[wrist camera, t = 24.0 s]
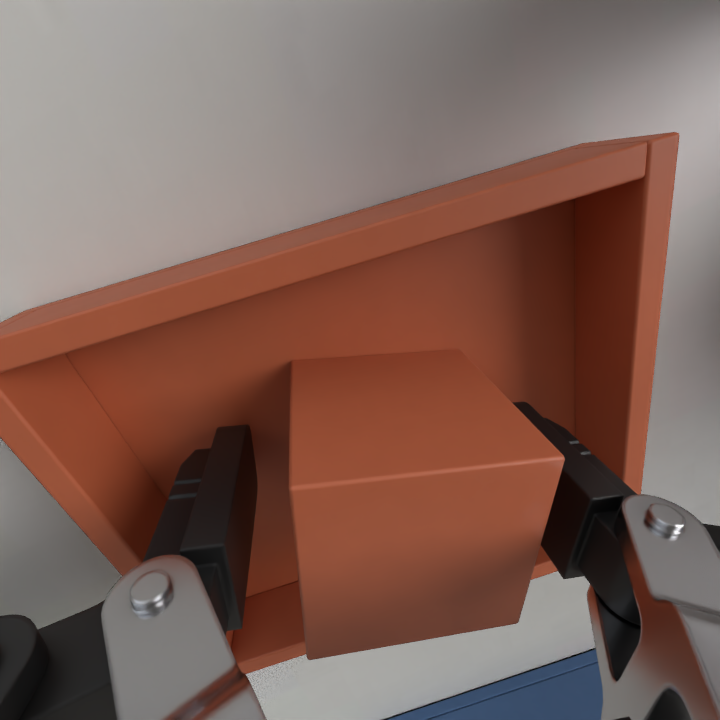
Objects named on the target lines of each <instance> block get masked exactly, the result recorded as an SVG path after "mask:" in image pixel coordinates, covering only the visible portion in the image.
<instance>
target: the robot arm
mask: <svg viewBox="0 0 720 720" xmlns="http://www.w3.org/2000/svg"><path fill="white" fill-rule="evenodd" d="M512 403H513V404H514V405H515V406H516V407H517V408H518V409H519V410H520V411H521V412H522V413H523V414H524V415H525V416H526V417H527V418H528V419H529V421H530V422H531V423H532V424H533V425H534V426H535V427H536V428H537V429H538V430H539V431H540V432H541V433H542V434H543V435H544V436H545V437H546V438H547V439H548V440H549V441H550V442H551V443H552V444H553V445H554V446H555V447H556V448H557V449H558V450H559V451H560V452H561V453H562V454H563V455H564V458H565V461H564V464H563V468H562V471H561V475H560V478H559V482H558V485H557V489H556V492H555V496H554V499H553V503H552V506H551V510H550V513H549V517H548V520H547V524H546V527H545V531H544V534H543V538H542V541H541V546H542V548H543V549H544V551H545V552H546V554H547V555H548V557H549V558H550V560H551V561H552V563H553V564H554V565H555V567H556V568H557V570H558V571H559V573H560V574H561V576H562V577H563V579H568V578H574V577H581V576H585V577H586V579H587V580H588V581H589V583H590V586H589V589H588V592H587V601H588V607H589V613H590V618H591V624H592V630H593V636H594V641H595V647H596V653H597V658H598V664H599V670H600V676H601V681H602V688H603V707H602V713H601V720H720V526H715V525H708V524H702V523H701V522H700V521H699V520H698V519H697V518H696V517H695V516H694V515H692V514H691V513H690V512H688V511H687V510H685V509H684V508H682V507H680V506H678V505H677V504H675V503H672V502H670V501H668V500H665V499H662V498H660V497H656V496H651V495H644V494H636V493H635V492H634V491H633V490H632V489H631V488H630V487H629V486H628V485H627V484H626V483H624V482H623V481H622V480H621V479H620V478H619V477H618V476H617V475H616V474H615V473H614V472H612V471H611V470H610V469H609V468H608V467H607V466H606V465H605V464H604V463H603V462H602V461H600V460H599V459H598V458H597V457H596V456H595V455H592V454H591V451H590V450H588V449H587V448H586V447H585V446H584V445H583V444H580V443H579V440H578V439H576V438H575V437H574V436H573V435H572V434H571V433H570V432H569V431H568V430H567V429H566V428H564V427H562V426H560V425H559V424H557V423H555V422H553V421H551V420H549V419H548V418H543V417H542V416H541V415H540V414H539V413H538V412H537V411H536V410H535V409H534V408H533V407H532V406H531V405H530V404H528V403H527V402H524V401H523V402H512ZM257 491H258V484H257V471H256V464H255V457H254V450H253V443H252V436H251V430H250V426H249V425H248V424H247V425H236V426H224V427H218V428H217V430H216V433H215V436H214V439H213V443H212V446H211V448H207V449H196V450H195V451H194V452H193V453H192V454H191V455H190V456H189V457H188V458H187V459H186V460H185V461H184V462H183V463H182V464H181V466H180V468H179V471H178V473H177V476H176V478H175V481H174V485H173V486H172V489H171V491H170V494H169V496H168V500H167V501H166V504H165V506H164V509H163V511H162V514H161V516H160V519H159V522H158V524H157V527H156V529H155V532H154V534H153V537H152V539H151V542H150V544H149V547H148V549H147V552H146V555H145V557H144V559H143V562H142V563H141V564H139V565H137V566H135V567H134V568H132V569H131V570H130V571H128V572H127V573H126V574H125V575H124V576H122V577H121V578H120V579H119V580H118V582H117V583H116V584H115V585H114V586H113V588H112V589H111V590H110V592H109V593H108V595H107V597H106V599H105V600H104V601H103V602H101V603H99V604H98V605H95V606H93V607H91V608H89V609H87V610H84V611H82V612H80V613H77V614H75V615H72V616H70V617H67V618H65V619H63V620H60V621H58V622H55V623H53V624H51V625H48V626H46V627H43V628H41V629H37V628H36V626H35V624H34V623H33V622H32V621H31V620H30V619H29V618H27V617H25V616H22V615H4V616H0V720H266V717H265V715H264V713H263V710H262V708H261V706H260V704H259V701H258V699H257V697H256V694H255V692H254V690H253V688H252V686H251V684H250V682H249V680H248V678H247V676H246V675H245V673H244V672H243V673H242V672H241V670H240V668H239V666H238V664H237V662H236V660H235V657H234V655H233V653H232V650H231V648H230V646H229V643H228V641H227V639H226V633H227V631H231V630H237V629H242V626H243V618H244V609H245V600H246V591H247V582H248V574H249V565H250V556H251V547H252V538H253V530H254V521H255V512H256V503H257Z"/></svg>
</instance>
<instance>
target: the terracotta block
mask: <svg viewBox="0 0 720 720" xmlns="http://www.w3.org/2000/svg"><path fill="white" fill-rule="evenodd" d="M564 461H565V458H564V455H563V454H562V453H561V452H560V451H559V450H558V449H557V448H556V447H555V446H554V445H553V444H552V443H551V442H550V441H549V440H548V439H547V438H546V437H545V436H544V435H543V434H542V433H541V432H540V431H539V430H538V429H537V428H536V427H535V426H534V425H533V424H532V423H531V422H530V421H529V419H528V418H527V417H526V416H525V415H524V414H523V413H522V412H521V411H520V410H519V409H518V408H517V407H516V406H515V405H514V404H513V403H512V402H511V401H510V400H509V399H508V398H507V397H506V396H505V395H504V394H503V393H502V392H501V391H500V390H499V389H498V388H497V387H496V386H495V385H494V384H493V383H492V382H491V381H490V380H489V379H488V378H487V377H486V375H485V374H484V373H483V372H482V371H481V370H480V369H479V368H478V367H477V366H476V365H475V364H474V363H473V362H472V361H471V360H470V359H469V358H468V357H467V356H466V355H465V354H464V353H463V352H462V351H461V350H459V349H456V350H441V351H427V352H412V353H397V354H382V355H368V356H353V357H338V358H323V359H309V360H294V361H291V364H290V430H289V497H290V507H291V516H292V525H293V534H294V544H295V553H296V562H297V572H298V581H299V590H300V599H301V609H302V618H303V627H304V636H305V646H306V655H307V658H308V660H313V659H319V658H324V657H330V656H336V655H341V654H347V653H353V652H358V651H364V650H370V649H375V648H381V647H387V646H392V645H398V644H404V643H409V642H415V641H421V640H426V639H432V638H438V637H443V636H449V635H454V634H460V633H466V632H471V631H477V630H483V629H488V628H494V627H500V626H505V625H511V624H516V623H518V622H519V618H520V615H521V611H522V608H523V604H524V601H525V597H526V594H527V590H528V587H529V583H530V580H531V576H532V573H533V569H534V566H535V562H536V559H537V555H538V552H539V548H540V545H541V541H542V538H543V534H544V531H545V527H546V524H547V520H548V517H549V513H550V510H551V506H552V503H553V499H554V496H555V492H556V489H557V485H558V482H559V478H560V475H561V471H562V468H563V464H564Z"/></svg>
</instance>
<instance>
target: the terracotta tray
mask: <svg viewBox="0 0 720 720" xmlns="http://www.w3.org/2000/svg"><path fill="white" fill-rule="evenodd" d="M678 143H679V133H676V132H672V133H663V134H655V135H647V136H639V137H631V138H623V139H614V140H606V141H598V142H589V143H582V144H579V145H576V146H572V147H569V148H566V149H562V150H559V151H556V152H552V153H549V154H546V155H542V156H539V157H536V158H532V159H529V160H526V161H522V162H519V163H516V164H512V165H509V166H506V167H502V168H499V169H496V170H492V171H489V172H486V173H482V174H479V175H476V176H472V177H469V178H466V179H462V180H459V181H456V182H452V183H449V184H446V185H442V186H439V187H436V188H432V189H429V190H426V191H422V192H419V193H416V194H412V195H409V196H406V197H402V198H399V199H396V200H392V201H389V202H386V203H382V204H379V205H376V206H372V207H369V208H366V209H362V210H359V211H356V212H352V213H349V214H346V215H342V216H339V217H336V218H332V219H329V220H326V221H322V222H319V223H316V224H312V225H309V226H306V227H302V228H299V229H296V230H292V231H289V232H286V233H282V234H279V235H276V236H272V237H269V238H266V239H262V240H259V241H256V242H252V243H249V244H246V245H242V246H239V247H236V248H232V249H229V250H226V251H222V252H219V253H216V254H212V255H209V256H206V257H202V258H199V259H196V260H192V261H189V262H186V263H182V264H179V265H176V266H172V267H169V268H166V269H162V270H159V271H156V272H152V273H149V274H146V275H142V276H139V277H136V278H132V279H129V280H126V281H122V282H119V283H116V284H112V285H109V286H106V287H102V288H99V289H96V290H92V291H89V292H86V293H82V294H79V295H76V296H72V297H69V298H66V299H62V300H59V301H56V302H52V303H49V304H46V305H42V306H39V307H36V308H32V309H29V310H26V311H23V312H21V313H19V314H17V315H15V316H13V317H12V318H9V319H7V320H5V321H3V322H1V323H0V438H1V439H2V440H3V441H4V442H5V443H6V445H7V446H8V447H9V448H10V449H11V450H12V451H13V452H14V454H15V455H16V456H17V457H18V458H19V459H20V460H21V462H22V463H23V464H24V465H25V466H26V467H27V468H28V469H29V471H30V472H31V473H32V474H33V475H34V476H35V477H36V479H37V480H38V481H39V482H40V483H41V484H42V485H43V486H44V488H45V489H46V490H47V491H48V492H49V493H50V494H51V496H52V497H53V498H54V499H55V500H56V501H57V502H58V503H59V505H60V506H61V507H62V508H63V509H64V510H65V511H66V513H67V514H68V515H69V516H70V517H71V518H72V519H73V520H74V522H75V523H76V524H77V525H78V526H79V527H80V528H81V529H82V531H83V532H84V533H85V534H86V535H87V536H88V537H89V539H90V540H91V541H92V542H93V543H94V544H95V545H96V546H97V548H98V549H99V550H100V551H101V552H102V553H103V554H104V556H105V557H106V558H107V559H108V560H109V561H110V562H111V563H112V565H113V566H114V567H115V568H116V569H117V570H118V571H119V573H120V574H121V575H122V576H124V575H125V574H126V573H127V572H128V571H130V570H131V569H132V568H134V567H135V566H137V565H139V564H141V563H142V562H143V559H144V557H145V555H146V552H147V549H148V547H149V544H150V542H151V539H152V537H153V534H154V532H155V529H156V527H157V524H158V522H159V519H160V516H161V514H162V511H163V509H164V506H165V504H166V501H167V500H168V496H169V494H170V491H171V489H172V486H173V485H174V481H175V478H176V476H177V473H178V471H179V468H180V466H181V464H182V463H183V462H184V461H185V460H186V459H187V458H188V457H189V456H190V455H191V454H192V453H193V452H194V451H195V450H196V449H207V448H211V446H212V443H213V439H214V436H215V433H216V430H217V428H218V427H224V426H236V425H247V424H248V425H249V426H250V430H251V436H252V443H253V450H254V457H255V464H256V471H257V484H258V491H257V503H256V512H255V521H254V530H253V538H252V547H251V556H250V565H249V574H248V582H247V591H246V600H245V609H244V618H243V626H242V629H237V630H231V631H227V633H226V639H227V641H228V643H229V646H230V648H231V650H232V653H233V655H234V657H235V660H236V662H237V664H238V666H239V668H240V670H241V672H242V673H243V672H244V673H245V674H247V673H250V672H253V671H256V670H259V669H262V668H265V667H268V666H271V665H274V664H277V663H280V662H284V661H287V660H290V659H293V658H296V657H299V656H302V655H305V654H306V646H305V636H304V627H303V618H302V609H301V599H300V590H299V581H298V572H297V562H296V553H295V544H294V534H293V525H292V516H291V507H290V497H289V430H290V364H291V361H294V360H309V359H323V358H338V357H353V356H368V355H382V354H397V353H412V352H427V351H441V350H456V349H459V350H461V351H462V352H463V353H464V354H465V355H466V356H467V357H468V358H469V359H470V360H471V361H472V362H473V363H474V364H475V365H476V366H477V367H478V368H479V369H480V370H481V371H482V372H483V373H484V374H485V375H486V377H487V378H488V379H489V380H490V381H491V382H492V383H493V384H494V385H495V386H496V387H497V388H498V389H499V390H500V391H501V392H502V393H503V394H504V395H505V396H506V397H507V398H508V399H509V400H510V401H511V402H523V401H524V402H527V403H528V404H530V405H531V406H532V407H533V408H534V409H535V410H536V411H537V412H538V413H539V414H540V415H541V416H542V417H543V418H548V419H549V420H551V421H553V422H555V423H557V424H559V425H560V426H562V427H564V428H566V429H567V430H568V431H569V432H570V433H571V434H572V435H573V436H574V437H575V438H576V439H578V440H579V443H580V444H583V445H584V446H585V447H586V448H587V449H588V450H590V451H591V454H592V455H595V456H596V457H597V458H598V459H599V460H600V461H602V462H603V463H604V464H605V465H606V466H607V467H608V468H609V469H610V470H611V471H612V472H614V473H615V474H616V475H617V476H618V477H619V478H620V479H621V480H622V481H623V482H624V483H626V484H627V485H628V486H629V487H630V488H631V489H632V490H633V491H634V492H635V493H636V494H641V486H642V477H643V468H644V459H645V449H646V440H647V431H648V422H649V412H650V403H651V394H652V384H653V375H654V366H655V357H656V347H657V338H658V329H659V319H660V310H661V301H662V292H663V282H664V273H665V264H666V254H667V245H668V236H669V227H670V217H671V208H672V199H673V190H674V180H675V171H676V162H677V152H678ZM556 571H558V570H557V568H556V567H555V565H554V564H553V563H552V561H551V560H550V558H549V557H548V555H547V554H546V552H545V551H544V549H543V548H542V546H541V545H540V548H539V552H538V555H537V559H536V562H535V566H534V569H533V573H532V576H531V580H532V579H535V578H538V577H541V576H544V575H547V574H550V573H553V572H556Z"/></svg>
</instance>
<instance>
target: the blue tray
mask: <svg viewBox="0 0 720 720" xmlns="http://www.w3.org/2000/svg"><path fill="white" fill-rule="evenodd" d="M602 707H603V688H602V681H601V676H600V670H599V664H598V658H597V653H596V649H595V650H592V651H589V652H586V653H583V654H580V655H577V656H574V657H571V658H568V659H565V660H562V661H559V662H556V663H553V664H550V665H547V666H544V667H541V668H538V669H535V670H532V671H529V672H526V673H524V674H521V675H518V676H515V677H512V678H509V679H506V680H503V681H500V682H497V683H494V684H491V685H488V686H485V687H482V688H479V689H476V690H473V691H470V692H467V693H464V694H461V695H458V696H455V697H452V698H449V699H446V700H443V701H440V702H437V703H434V704H431V705H428V706H426V707H423V708H420V709H417V710H414V711H411V712H408V713H405V714H402V715H399V716H396V717H393V718H390V719H387V720H601V713H602Z"/></svg>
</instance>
